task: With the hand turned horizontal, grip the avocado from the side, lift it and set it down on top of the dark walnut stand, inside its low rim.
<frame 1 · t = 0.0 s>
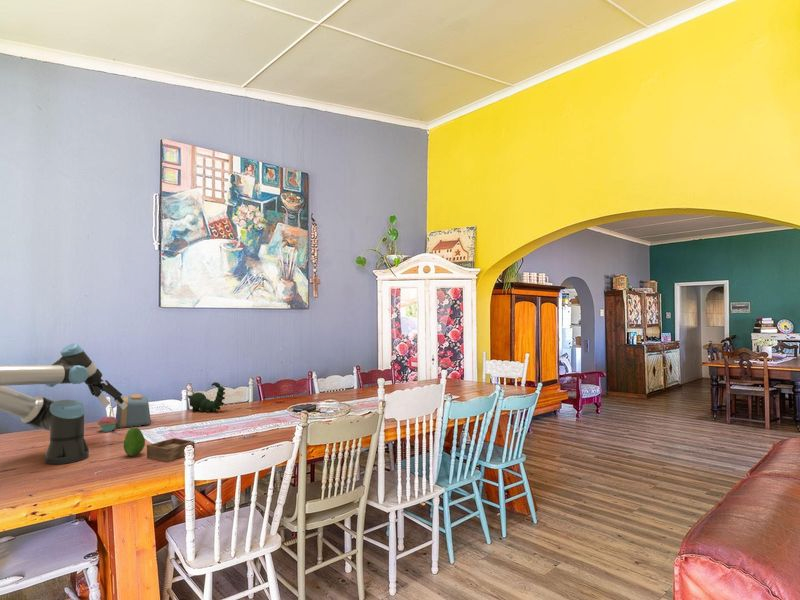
hand: (116, 406, 236), 15 cm above the table, tool tilted 35°, fingers open, 13 cm apart
toy figurine: (205, 411, 296), on the table
cupcake: (107, 431, 251), on the table
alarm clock: (133, 424, 265), on the table
walnut stand: (170, 455, 208), on the table
avocado: (134, 455, 208), on the table
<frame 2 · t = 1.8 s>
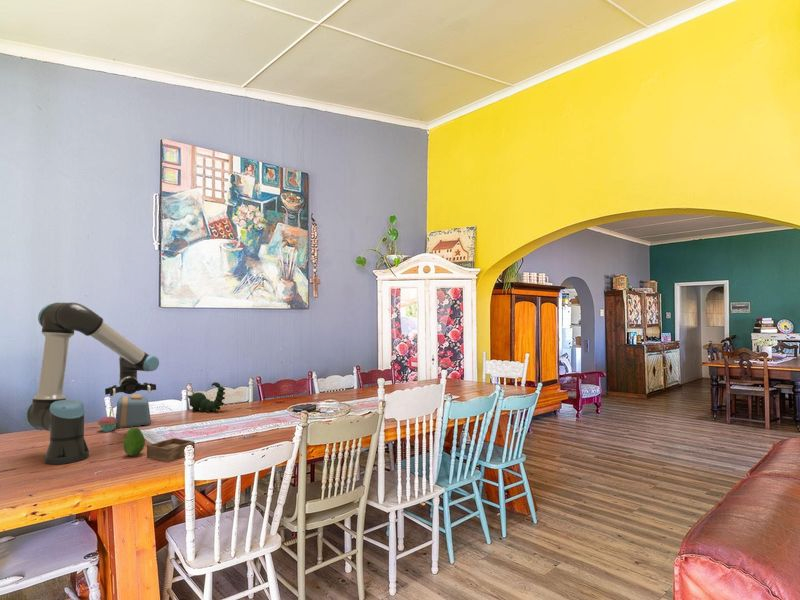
hand: (132, 391, 217), 25 cm above the table, tool horizontal, fingers open, 13 cm apart
nothing on the table moved.
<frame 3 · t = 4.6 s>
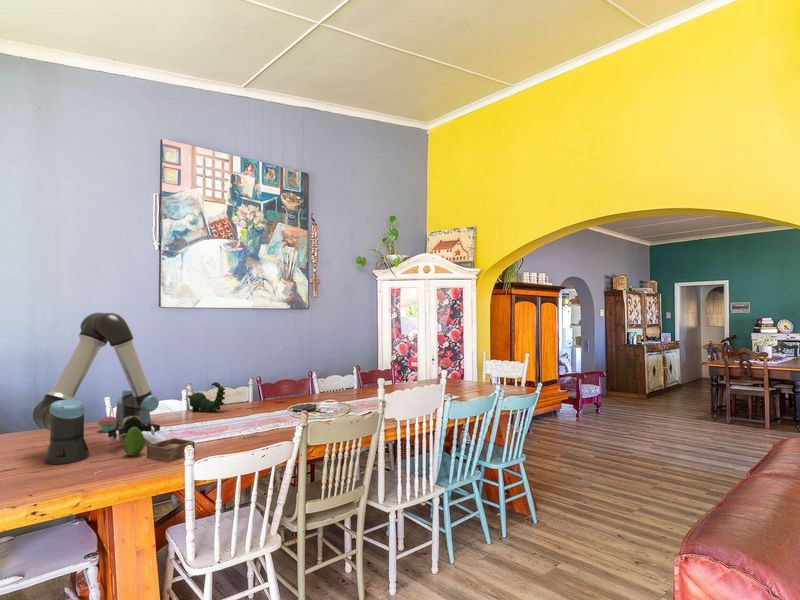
hand: (136, 434, 213), 7 cm above the table, tool horizontal, fingers open, 13 cm apart
nothing on the table moved.
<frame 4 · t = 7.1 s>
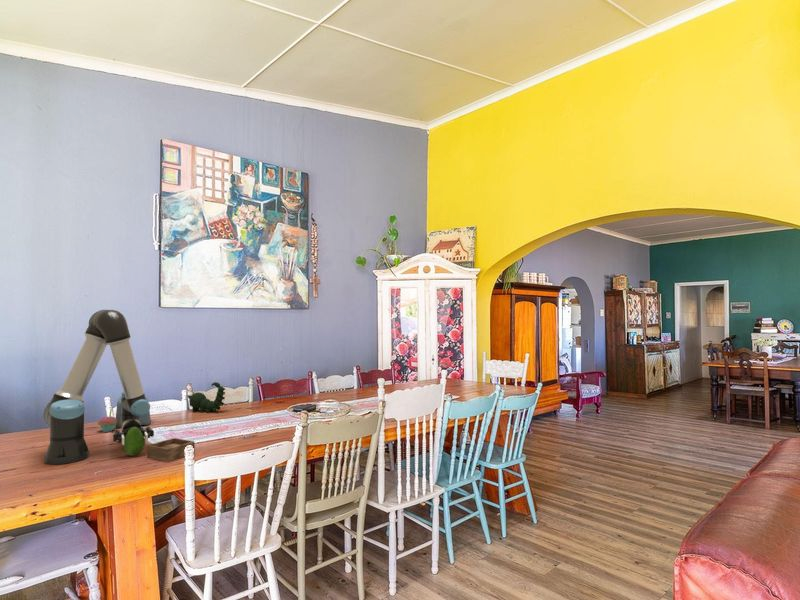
hand: (135, 439, 204), 8 cm above the table, tool horizontal, fingers closed on avocado, 8 cm apart
avocado: (134, 455, 208), on the table, touching gripper
everything else where it was.
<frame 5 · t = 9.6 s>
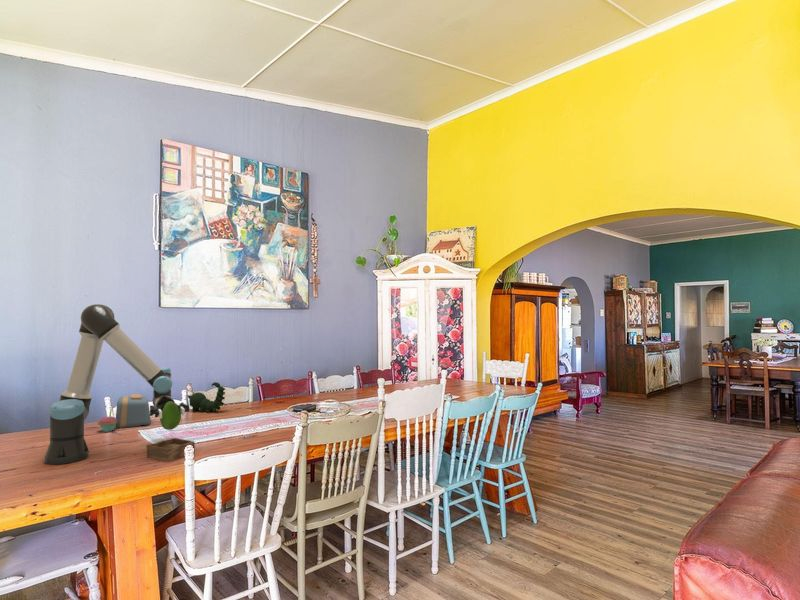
hand: (172, 413, 205), 18 cm above the table, tool horizontal, fingers closed on avocado, 8 cm apart
avocado: (170, 430, 208), point 10 cm above the table, touching gripper
everything else where it was.
when the fingers open (11 cm above the table, at t = 12.1 s): avocado stays where it is, resting on walnut stand.
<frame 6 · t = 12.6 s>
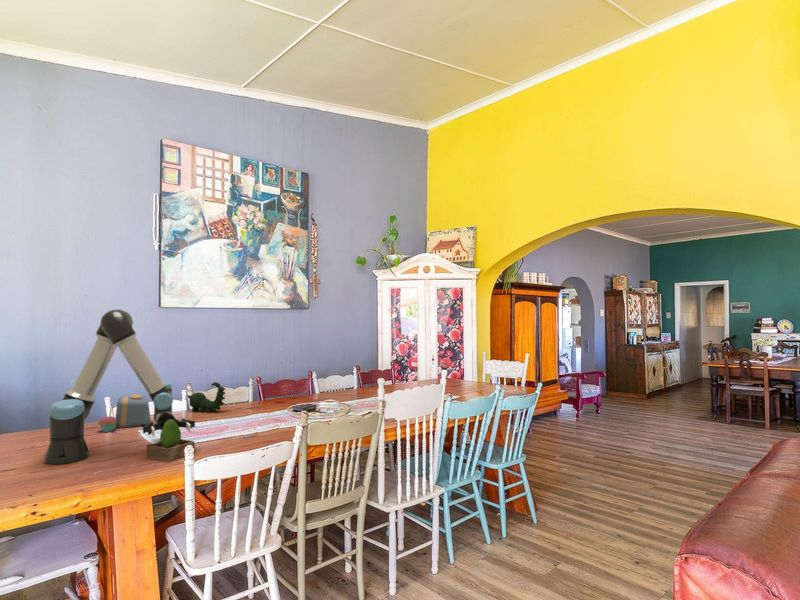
hand: (171, 430, 205), 11 cm above the table, tool horizontal, fingers open, 13 cm apart
avocado: (170, 448, 208), point 3 cm above the table, touching walnut stand
everything else where it was.
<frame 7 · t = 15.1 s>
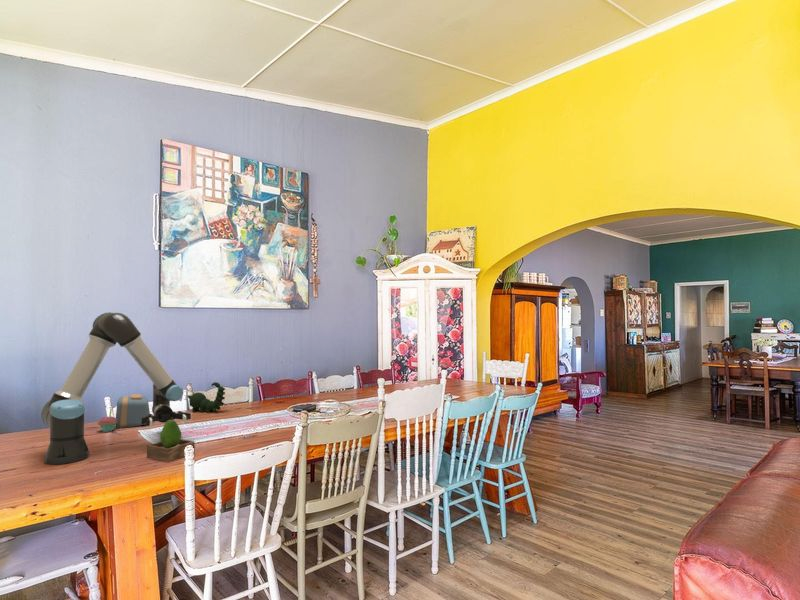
hand: (168, 421, 217), 12 cm above the table, tool horizontal, fingers open, 13 cm apart
nothing on the table moved.
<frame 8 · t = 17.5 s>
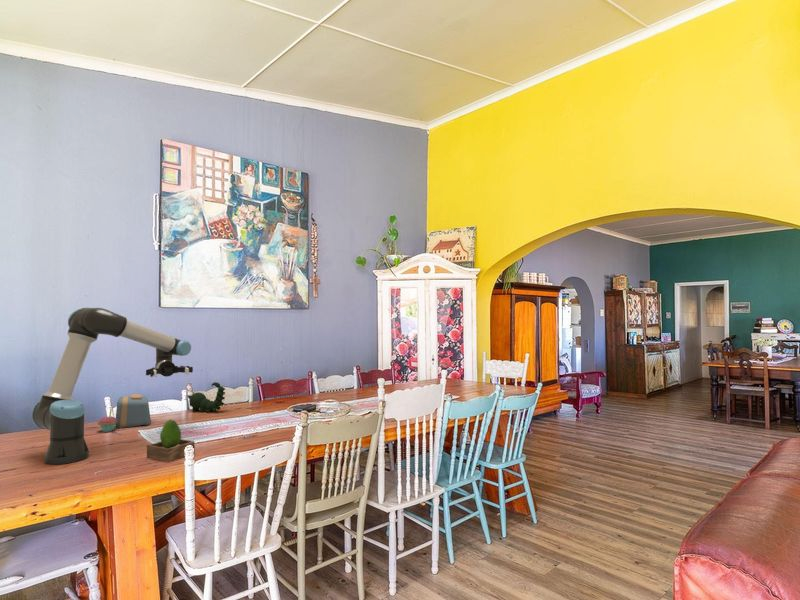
hand: (172, 372, 228), 32 cm above the table, tool horizontal, fingers open, 13 cm apart
nothing on the table moved.
at the end: avocado inside the target area on the walnut stand (0.1 cm from its centre), point 2.8 cm above the walnut stand's base; avocado touching walnut stand; the gripper is holding nothing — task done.
